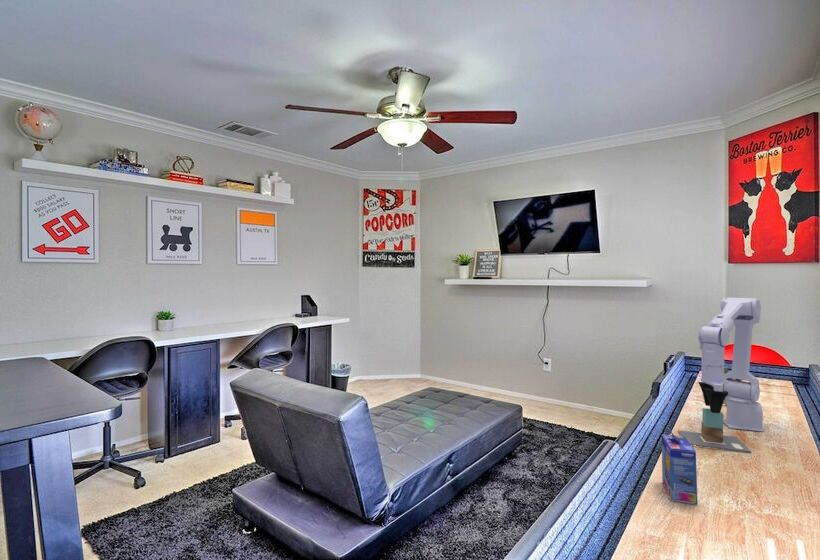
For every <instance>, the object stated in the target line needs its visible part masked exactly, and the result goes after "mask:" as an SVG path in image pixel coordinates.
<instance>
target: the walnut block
mask: <svg viewBox="0 0 820 560" xmlns="http://www.w3.org/2000/svg"><path fill="white" fill-rule="evenodd" d="M700 426H701V428H700V429H701V432H700V433H701V436H702V438H703V439H704V440H705V441H707V442H716V443H723V435H724V428H723V429H720V428H712V427H706V426H705V425H704V424H703V422H702V421H701V425H700Z"/></svg>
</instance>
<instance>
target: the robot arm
mask: <svg viewBox="0 0 820 560" xmlns="http://www.w3.org/2000/svg"><path fill="white" fill-rule="evenodd" d="M760 302H761V301H760V300H759V299H758V298H757V297H753V298H751V297H727V296H724V297H723V298H722V300H721V302H720V310H721V313H720V314H716V315H715V316H713V318H712V319H711V320H710V322H709V323H708V324H707V325H704V326H701V327H700V328H699V330H698V335H697V336H698V337H697V339H698V343H699V350H700V351H701V377H700V381H698V385H699V387H700V389H701V392H702V397H703V400H704V401H703V402H704V405H705V406H706V407H707V406H708V407H709V409H710V410H711V412H712V413H720V411H721V412H722V407H723V405H722V404H723V401H724V399H727V406H726V419H723V424H725V425H726V427H728V429H735V430H745V431H754V432H764V428H763V422H764V417H763V416H764V415H763V414H764V412H763V411H764V410H763V407H762V404H761V403H760V402H758V401H759V398H760V397H761V396H760V395H761V394H760V393H761V389H760V381H759V379H758V378H757V377H756V376H755V375H753V373H751V372H750V366H751V354H752V353H751V351H752V340H753V339H752V337H753V328H754V325H755V324H759V323H760V320H761V310H762V307H761V303H760ZM733 327H734V335H733V338H734V339H733V350H732V351H733V352H732V363H731V367H732V368H731V370H729V371H727V373H725V374H724V369H725V347H726V346H727V344H728V339H729V336H730V335H729V334H730V332H731V330H732V329H733ZM731 379H740V380H742V381H737V380H731Z"/></svg>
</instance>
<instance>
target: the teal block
mask: <svg viewBox="0 0 820 560" xmlns="http://www.w3.org/2000/svg"><path fill="white" fill-rule="evenodd" d="M724 418H725V417H724V413H723V411H722V410H721V411H720V413H712V412H711V410H710V408H705V407H702V421H701V423H702V422H703V424H704V425H705V426H706V427H712V428H720V429H723V430H724V422H723V420H724Z"/></svg>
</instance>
